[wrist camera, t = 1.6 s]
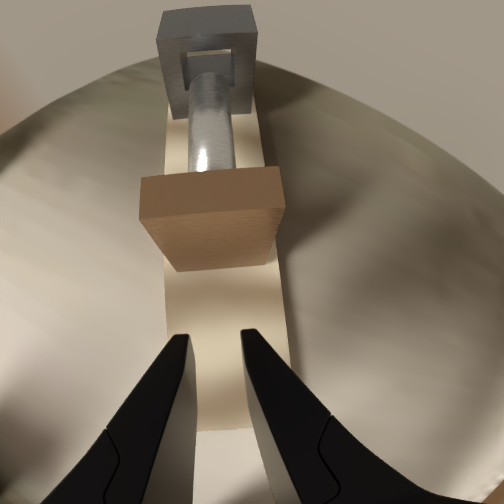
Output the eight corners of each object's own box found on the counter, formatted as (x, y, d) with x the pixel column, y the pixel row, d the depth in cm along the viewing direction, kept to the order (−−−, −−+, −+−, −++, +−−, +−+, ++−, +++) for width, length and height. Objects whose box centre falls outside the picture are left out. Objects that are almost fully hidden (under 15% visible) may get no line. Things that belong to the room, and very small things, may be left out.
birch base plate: (293, 418, 19) (296, 421, 18) (180, 428, 19) (178, 431, 18) (250, 83, 28) (250, 76, 27) (172, 89, 28) (170, 82, 27)
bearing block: (251, 113, 26) (257, 32, 17) (172, 120, 25) (156, 40, 16) (245, 79, 27) (250, 4, 19) (175, 84, 27) (163, 11, 18)
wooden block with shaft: (265, 265, 21) (285, 207, 12) (176, 272, 21) (138, 219, 12) (247, 126, 25) (254, 41, 16) (176, 132, 24) (159, 48, 15)
